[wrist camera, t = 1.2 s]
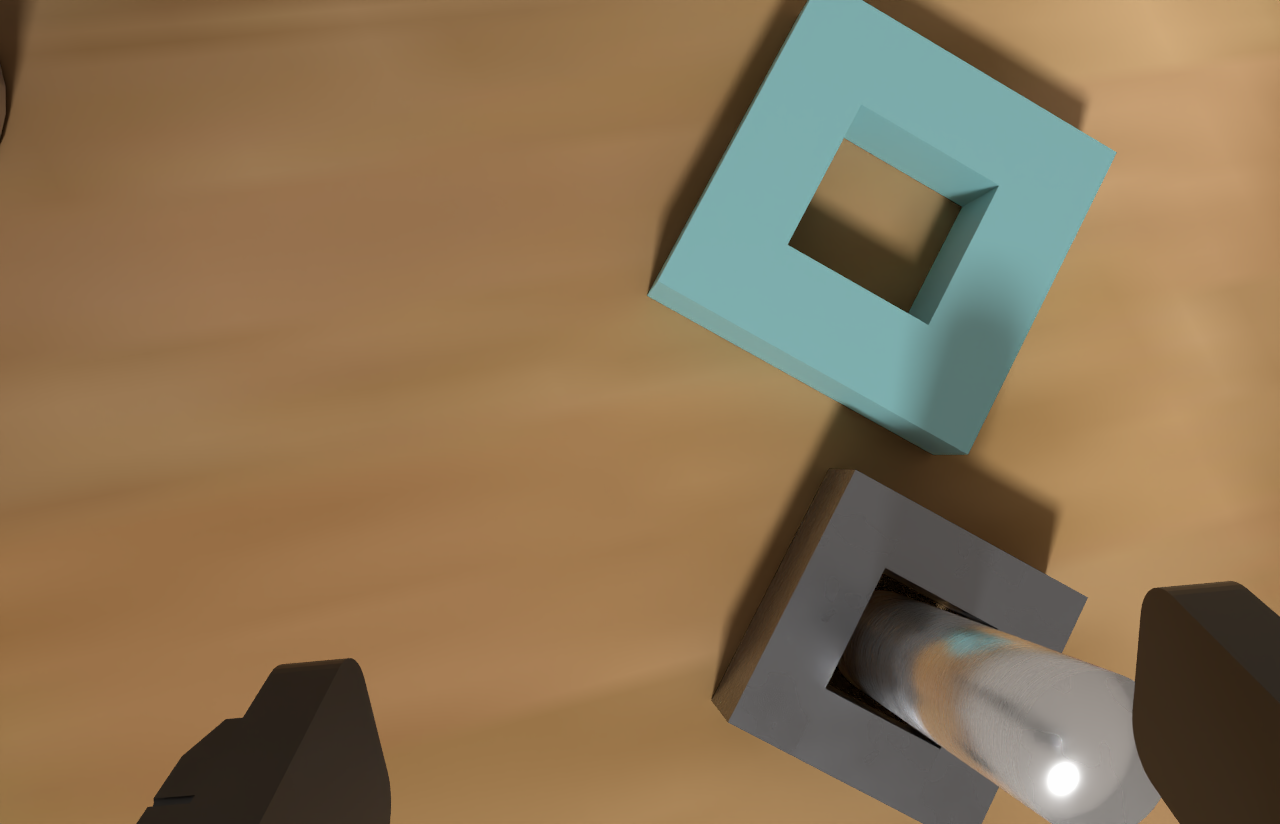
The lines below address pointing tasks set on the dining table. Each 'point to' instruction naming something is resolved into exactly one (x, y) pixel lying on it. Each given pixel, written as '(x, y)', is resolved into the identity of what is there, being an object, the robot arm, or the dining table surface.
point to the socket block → (827, 616)
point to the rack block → (928, 152)
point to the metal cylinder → (1006, 709)
